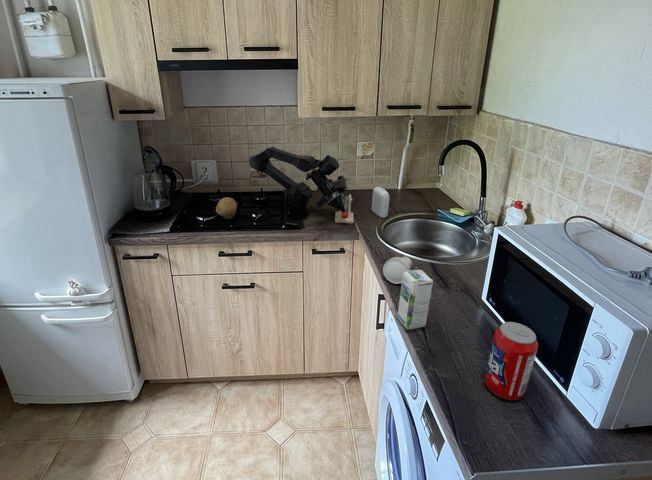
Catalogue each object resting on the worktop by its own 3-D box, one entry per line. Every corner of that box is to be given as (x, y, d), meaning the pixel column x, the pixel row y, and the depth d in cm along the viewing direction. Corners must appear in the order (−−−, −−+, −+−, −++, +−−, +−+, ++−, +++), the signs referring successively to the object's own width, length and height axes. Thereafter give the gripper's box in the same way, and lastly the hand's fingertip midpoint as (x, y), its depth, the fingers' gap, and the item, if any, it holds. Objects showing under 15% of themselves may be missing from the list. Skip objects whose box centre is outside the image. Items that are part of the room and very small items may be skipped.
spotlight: (378, 276, 121) (387, 254, 119) (390, 268, 131) (398, 247, 129) (402, 289, 118) (411, 266, 115) (412, 279, 127) (421, 258, 125)
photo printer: (388, 217, 171) (391, 191, 167) (380, 218, 170) (382, 192, 165) (378, 209, 180) (380, 184, 176) (370, 210, 179) (372, 185, 175)
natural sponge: (215, 223, 163) (213, 201, 159) (219, 215, 171) (217, 194, 167) (236, 223, 163) (235, 201, 159) (239, 215, 171) (238, 194, 168)
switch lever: (348, 220, 159) (348, 215, 157) (340, 219, 160) (341, 215, 158) (348, 200, 168) (348, 195, 165) (341, 199, 168) (342, 195, 166)
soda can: (525, 408, 77) (543, 349, 72) (483, 396, 80) (497, 338, 75) (521, 380, 84) (537, 325, 79) (483, 370, 87) (495, 315, 82)
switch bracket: (353, 223, 164) (354, 200, 160) (334, 222, 165) (335, 199, 161) (353, 215, 173) (354, 192, 169) (335, 214, 174) (336, 191, 170)
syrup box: (396, 317, 104) (401, 271, 99) (415, 314, 106) (421, 268, 101) (406, 330, 99) (413, 283, 94) (426, 327, 101) (434, 279, 96)
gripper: (324, 176, 148) (349, 208, 146) (344, 165, 163) (366, 194, 162) (306, 192, 154) (330, 222, 153) (327, 180, 169) (348, 208, 168)
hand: (344, 211), depth 159 cm, fingers closed, pressing on switch lever
